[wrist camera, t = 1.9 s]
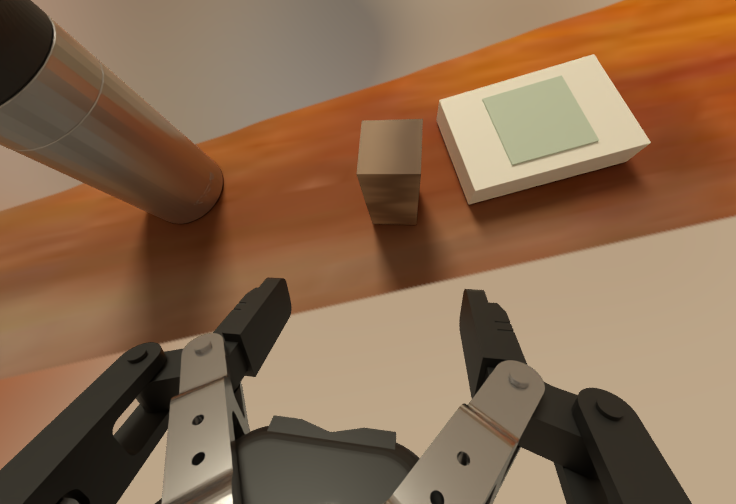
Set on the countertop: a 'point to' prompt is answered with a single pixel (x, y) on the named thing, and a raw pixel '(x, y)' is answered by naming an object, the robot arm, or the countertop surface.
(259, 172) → the countertop surface
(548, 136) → the plinth
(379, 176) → the walnut block
